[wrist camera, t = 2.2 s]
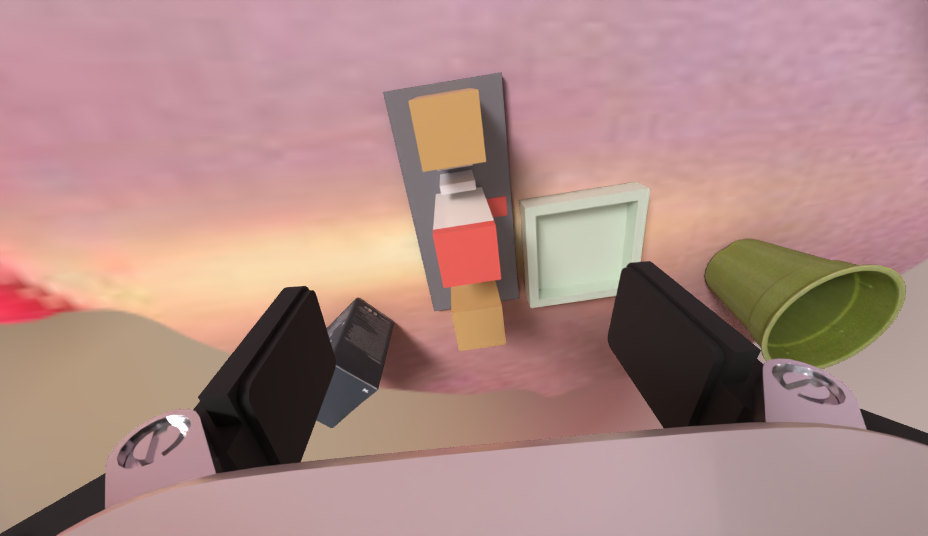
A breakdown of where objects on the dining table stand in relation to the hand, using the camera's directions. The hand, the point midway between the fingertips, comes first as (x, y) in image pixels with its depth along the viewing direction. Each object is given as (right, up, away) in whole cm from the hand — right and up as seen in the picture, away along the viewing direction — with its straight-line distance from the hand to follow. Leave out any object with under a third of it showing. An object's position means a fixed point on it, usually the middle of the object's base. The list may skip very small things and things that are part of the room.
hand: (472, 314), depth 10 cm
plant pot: (+32, +2, +29) cm, 43 cm away
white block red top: (0, +7, +23) cm, 24 cm away
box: (-13, -6, +31) cm, 34 cm away
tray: (+12, +4, +26) cm, 29 cm away
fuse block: (0, +8, +24) cm, 25 cm away
